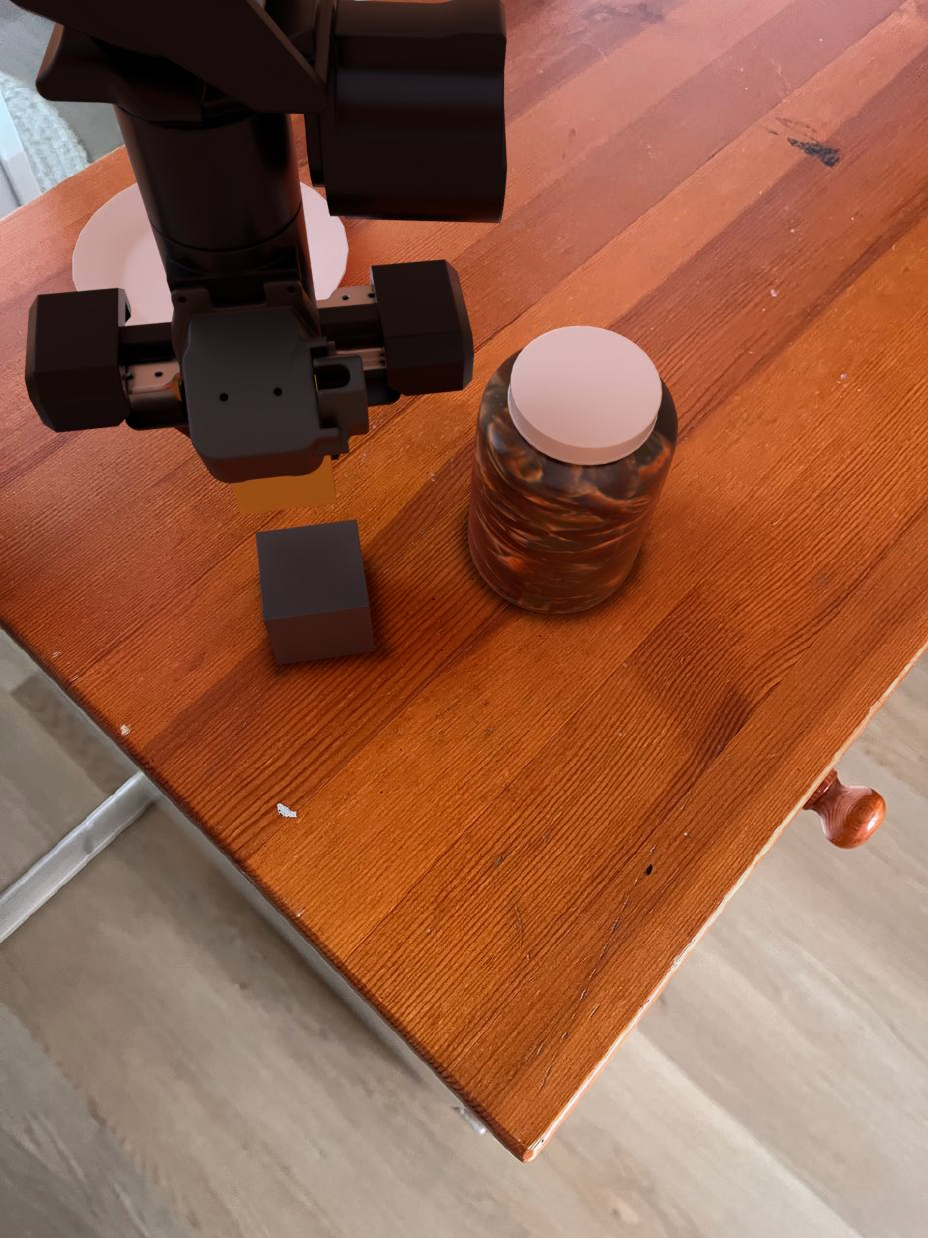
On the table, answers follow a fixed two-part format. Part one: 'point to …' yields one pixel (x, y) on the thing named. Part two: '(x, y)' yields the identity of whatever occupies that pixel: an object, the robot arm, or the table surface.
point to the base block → (314, 591)
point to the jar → (568, 468)
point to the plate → (130, 260)
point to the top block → (287, 491)
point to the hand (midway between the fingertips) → (282, 459)
